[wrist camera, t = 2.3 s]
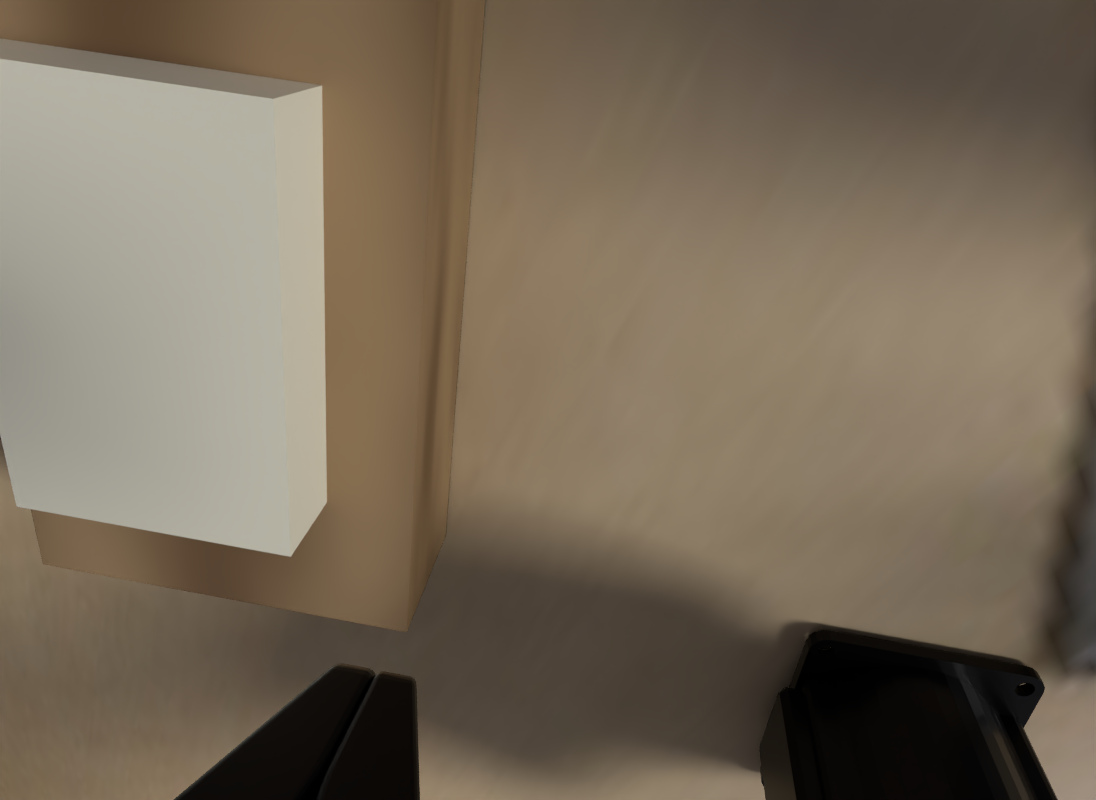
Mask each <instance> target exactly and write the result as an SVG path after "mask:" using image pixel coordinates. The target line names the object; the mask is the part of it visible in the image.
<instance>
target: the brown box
mask: <svg viewBox="0 0 1096 800" xmlns="http://www.w3.org/2000/svg"><path fill="white" fill-rule="evenodd" d="M484 13H485V0H0V39H8V40H15V41H22V42H29V43H36V44H42V45H49V46H56V47H63V48H70V49H77V50H84V51H90V52H97V53H104V54H111V55H118V56H125V57H132V58H138V59H145V60H152V61H159V62H166V63H173V64H180V65H187V66H193V67H200V68H207V69H214V70H221V71H228V72H235V73H241V74H248V75H255V76H262V77H269V78H276V79H283V80H289V81H296V82H303V83H310V84H317V85H322V120H323V206H324V293H325V380H326V466H327V503H326V505H325V506H324V508H323V509H322V511H321V512H320V514H319V515H318V517H317V518H316V520H315V521H314V523H313V524H312V526H311V527H310V529H309V530H308V532H307V533H306V535H305V536H304V538H303V539H302V541H301V542H300V544H299V545H298V547H297V548H296V550H295V551H294V553H293V554H292V556H291V557H289V556H283V555H278V554H272V553H267V552H262V551H256V550H251V549H245V548H240V547H234V546H229V545H223V544H218V543H213V542H207V541H202V540H196V539H191V538H185V537H180V536H175V535H169V534H164V533H158V532H153V531H147V530H142V529H136V528H131V527H126V526H120V525H115V524H109V523H104V522H98V521H93V520H87V519H82V518H77V517H71V516H66V515H60V514H55V513H49V512H44V511H38V510H33V509H31V512H32V516H33V521H34V525H35V530H36V535H37V539H38V544H39V548H40V553H41V557H42V562H43V564H46V565H51V566H56V567H62V568H67V569H72V570H78V571H83V572H88V573H93V574H99V575H104V576H109V577H115V578H120V579H125V580H131V581H136V582H141V583H147V584H152V585H157V586H163V587H168V588H173V589H179V590H184V591H189V592H195V593H200V594H205V595H211V596H216V597H221V598H226V599H232V600H237V601H242V602H248V603H253V604H258V605H264V606H269V607H274V608H280V609H285V610H290V611H296V612H301V613H306V614H312V615H317V616H322V617H328V618H333V619H338V620H343V621H349V622H354V623H359V624H365V625H370V626H375V627H381V628H386V629H391V630H397V631H402V632H407V630H408V628H409V625H410V623H411V620H412V618H413V615H414V613H415V610H416V608H417V605H418V603H419V600H420V598H421V596H422V593H423V591H424V588H425V586H426V583H427V581H428V578H429V576H430V573H431V571H432V568H433V566H434V564H435V561H436V559H437V556H438V554H439V551H440V549H441V546H442V544H443V541H444V539H445V536H446V527H447V514H448V500H449V487H450V473H451V460H452V446H453V432H454V419H455V405H456V392H457V378H458V365H459V351H460V338H461V324H462V311H463V297H464V284H465V270H466V257H467V243H468V230H469V216H470V203H471V189H472V176H473V162H474V148H475V135H476V121H477V108H478V94H479V81H480V67H481V54H482V40H483V27H484Z"/></svg>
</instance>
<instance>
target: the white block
mask: <svg viewBox="0 0 1096 800" xmlns="http://www.w3.org/2000/svg"><path fill="white" fill-rule="evenodd" d="M0 436H1V441H2V445H3V449H4V454H5V458H6V462H7V467H8V471H9V475H10V480H11V484H12V488H13V493H14V497H15V501H16V506H17V507H22V508H28V509H33V510H38V511H44V512H49V513H55V514H60V515H66V516H71V517H77V518H82V519H87V520H93V521H98V522H104V523H109V524H115V525H120V526H126V527H131V528H136V529H142V530H147V531H153V532H158V533H164V534H169V535H175V536H180V537H185V538H191V539H196V540H202V541H207V542H213V543H218V544H223V545H229V546H234V547H240V548H245V549H251V550H256V551H262V552H267V553H272V554H278V555H283V556H289V557H291V556H292V554H293V553H294V551H295V550H296V548H297V547H298V545H299V544H300V542H301V541H302V539H303V538H304V536H305V535H306V533H307V532H308V530H309V529H310V527H311V526H312V524H313V523H314V521H315V520H316V518H317V517H318V515H319V514H320V512H321V511H322V509H323V508H324V506H325V505H326V503H327V466H326V380H325V293H324V206H323V120H322V85H317V84H310V83H303V82H296V81H289V80H283V79H276V78H269V77H262V76H255V75H248V74H241V73H235V72H228V71H221V70H214V69H207V68H200V67H193V66H187V65H180V64H173V63H166V62H159V61H152V60H145V59H138V58H132V57H125V56H118V55H111V54H104V53H97V52H90V51H84V50H77V49H70V48H63V47H56V46H49V45H42V44H36V43H29V42H22V41H15V40H8V39H0Z"/></svg>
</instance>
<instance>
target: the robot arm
mask: <svg viewBox="0 0 1096 800" xmlns="http://www.w3.org/2000/svg"><path fill="white" fill-rule="evenodd" d="M822 647H831V648H829V649H827V650H821V649H820V648H822ZM1022 683H1026V684H1024V685H1020V684H1022ZM1044 689H1045V687H1044V684H1043V682H1042V680H1041V678H1040V676H1039V675H1038V673H1037V672H1036V671H1035V670H1034V669H1033V668H1030V667H1028V666H1023V665H1018V664H1012V663H1007V662H1001V661H996V660H990V659H985V658H979V657H974V656H968V655H963V654H957V653H952V652H946V651H941V650H935V649H930V648H924V647H919V646H913V645H908V644H902V643H897V642H891V641H886V640H880V639H875V638H869V637H864V636H858V635H853V634H847V633H842V632H836V631H831V630H820V631H816V632H814V633H812V634H811V635H810V636H809V637H808V639H807V640H806V643H805V646H804V648H803V651H802V654H801V657H800V660H799V662H798V665H797V668H796V671H795V673H794V676H793V679H792V682H791V684H790V687H785V688H784V689H783V690H782V691H780V692H779V693H778V696H777V699H776V701H775V704H774V707H773V710H772V713H771V716H770V718H769V721H768V724H767V727H766V730H765V733H764V735H763V738H762V741H761V744H760V757H761V769H760V773H761V781H762V784H763V786H764V790H765V798H766V800H1058V799H1057V797H1056V795H1055V793H1054V791H1053V789H1052V787H1051V785H1050V782H1049V780H1048V778H1047V776H1046V774H1045V772H1044V770H1043V768H1042V766H1041V764H1040V762H1039V760H1038V758H1037V755H1036V753H1035V751H1034V749H1033V747H1032V745H1031V743H1030V741H1029V739H1028V737H1027V735H1026V733H1025V730H1024V726H1025V724H1026V723H1027V721H1028V719H1029V717H1030V716H1031V714H1032V712H1033V710H1034V709H1035V707H1036V705H1037V703H1038V702H1039V700H1040V698H1041V696H1042V695H1043V692H1044ZM174 800H420V788H419V755H418V722H417V689H416V681H415V679H414V678H413V677H410V676H405V675H400V674H395V673H389V672H379V673H377V674H376V675H375V672H374V671H373V670H371V669H368V668H363V667H358V666H353V665H347V664H337V665H334V666H332V667H331V668H330V669H328V670H327V671H326V672H325V673H324V674H322V675H321V676H320V677H319V678H318V679H317V680H315V681H314V682H313V683H312V684H311V685H309V686H308V687H307V688H306V689H305V690H303V691H302V692H301V693H300V694H299V695H298V696H296V697H295V698H294V699H293V700H292V701H290V702H289V703H288V704H287V705H286V706H284V707H283V708H282V709H281V710H280V711H279V712H277V713H276V714H275V715H274V716H273V717H271V718H270V719H269V720H268V721H267V722H265V723H264V724H263V725H262V726H261V727H260V728H258V729H257V730H256V731H255V732H254V733H252V734H251V735H250V736H249V737H248V738H246V739H245V740H244V741H243V742H242V743H241V744H239V745H238V746H237V747H236V748H235V749H233V750H232V751H231V752H230V753H229V754H227V755H226V756H225V757H224V758H223V759H222V760H220V761H219V762H218V763H217V764H216V765H214V766H213V767H212V768H211V769H210V770H208V771H207V772H206V773H205V774H204V775H203V776H201V777H200V778H199V779H198V780H197V781H195V782H194V783H193V784H192V785H191V786H189V787H188V788H187V789H186V790H185V791H184V792H182V793H181V794H180V795H179V796H178V797H176V798H175V799H174Z"/></svg>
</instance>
